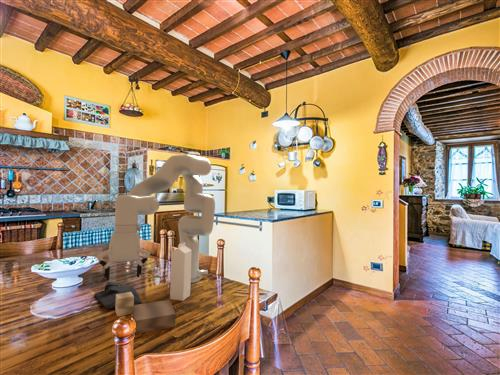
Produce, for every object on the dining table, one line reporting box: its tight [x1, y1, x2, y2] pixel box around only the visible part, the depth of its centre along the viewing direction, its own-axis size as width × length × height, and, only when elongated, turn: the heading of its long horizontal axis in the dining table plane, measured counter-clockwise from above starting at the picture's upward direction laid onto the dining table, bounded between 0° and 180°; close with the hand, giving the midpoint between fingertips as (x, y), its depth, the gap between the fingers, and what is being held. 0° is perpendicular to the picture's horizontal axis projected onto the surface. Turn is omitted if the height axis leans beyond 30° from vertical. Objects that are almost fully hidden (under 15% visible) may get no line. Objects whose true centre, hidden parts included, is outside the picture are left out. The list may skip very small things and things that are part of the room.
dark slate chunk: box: [94, 281, 143, 310], centre depth 103 cm, size 15×22×5 cm
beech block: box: [114, 292, 134, 317], centre depth 92 cm, size 5×5×6 cm
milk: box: [169, 242, 192, 302], centre depth 106 cm, size 6×6×22 cm
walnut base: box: [132, 299, 177, 335], centre depth 85 cm, size 12×12×4 cm
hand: (123, 277), depth 92 cm, fingers open, 9 cm apart
